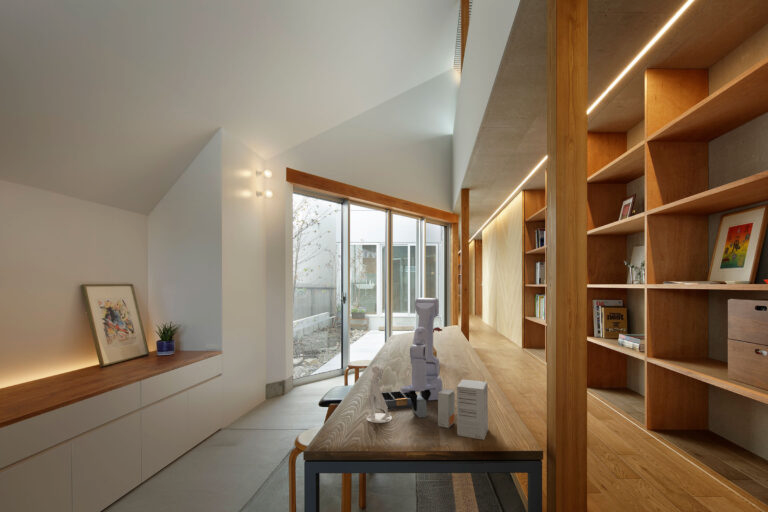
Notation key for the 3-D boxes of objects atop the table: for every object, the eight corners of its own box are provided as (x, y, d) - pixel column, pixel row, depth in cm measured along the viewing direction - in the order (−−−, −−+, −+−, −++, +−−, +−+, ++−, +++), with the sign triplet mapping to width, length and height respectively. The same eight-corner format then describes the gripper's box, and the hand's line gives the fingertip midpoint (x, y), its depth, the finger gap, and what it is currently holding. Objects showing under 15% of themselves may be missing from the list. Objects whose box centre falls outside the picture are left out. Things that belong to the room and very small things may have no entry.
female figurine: (352, 412, 158) (352, 361, 159) (392, 412, 157) (392, 361, 158) (348, 422, 148) (348, 368, 148) (391, 423, 147) (391, 368, 147)
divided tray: (411, 398, 175) (411, 389, 175) (420, 406, 164) (420, 397, 164) (376, 401, 171) (376, 392, 171) (383, 410, 160) (382, 400, 160)
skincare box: (448, 428, 141) (448, 394, 142) (437, 426, 144) (437, 392, 144) (455, 422, 147) (454, 390, 147) (444, 420, 149) (444, 388, 149)
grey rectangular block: (419, 409, 161) (419, 394, 161) (426, 416, 153) (426, 401, 153) (412, 410, 160) (412, 395, 160) (419, 417, 152) (418, 401, 152)
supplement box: (462, 425, 144) (461, 378, 145) (488, 429, 141) (487, 381, 141) (456, 435, 135) (456, 385, 136) (484, 440, 132) (483, 388, 132)
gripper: (404, 379, 151) (404, 415, 151) (440, 376, 155) (440, 411, 154) (399, 374, 158) (399, 408, 158) (433, 371, 162) (433, 405, 161)
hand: (419, 409), depth 156 cm, fingers closed on grey rectangular block, 3 cm apart
